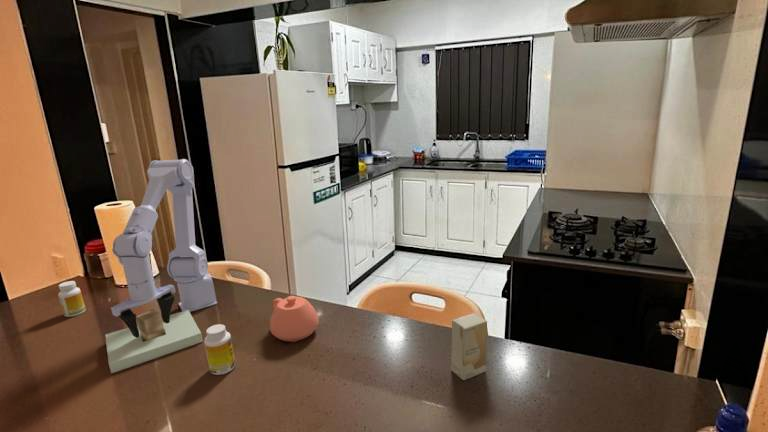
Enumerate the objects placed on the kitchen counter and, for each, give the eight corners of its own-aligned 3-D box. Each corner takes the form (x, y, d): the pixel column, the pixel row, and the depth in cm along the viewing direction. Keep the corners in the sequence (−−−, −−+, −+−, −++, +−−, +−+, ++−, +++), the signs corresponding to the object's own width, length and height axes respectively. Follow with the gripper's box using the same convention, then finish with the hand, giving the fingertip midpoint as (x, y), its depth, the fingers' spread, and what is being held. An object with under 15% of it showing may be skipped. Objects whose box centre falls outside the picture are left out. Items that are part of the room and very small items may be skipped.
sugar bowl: (293, 352, 100) (288, 314, 97) (257, 335, 108) (251, 299, 105) (329, 328, 109) (325, 293, 106) (293, 314, 117) (289, 281, 115)
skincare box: (463, 381, 86) (463, 329, 83) (450, 370, 90) (450, 319, 87) (487, 371, 89) (488, 320, 86) (474, 360, 93) (474, 311, 89)
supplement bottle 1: (90, 308, 128) (82, 279, 125) (76, 317, 123) (67, 287, 120) (74, 308, 128) (66, 279, 126) (59, 317, 123) (50, 287, 121)
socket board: (189, 317, 119) (188, 309, 118) (202, 341, 106) (201, 332, 106) (107, 343, 108) (105, 334, 107) (111, 373, 95) (108, 364, 95)
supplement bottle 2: (237, 371, 94) (230, 331, 91) (211, 379, 91) (202, 338, 89) (234, 358, 98) (227, 319, 96) (209, 365, 96) (201, 326, 93)
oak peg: (158, 336, 110) (152, 309, 108) (166, 340, 108) (160, 313, 105) (143, 344, 107) (136, 316, 104) (150, 348, 104) (144, 320, 102)
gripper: (161, 266, 110) (171, 312, 114) (100, 287, 99) (113, 338, 103) (175, 271, 106) (185, 319, 110) (113, 294, 95) (127, 346, 99)
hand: (151, 328), depth 106 cm, fingers open, 7 cm apart
